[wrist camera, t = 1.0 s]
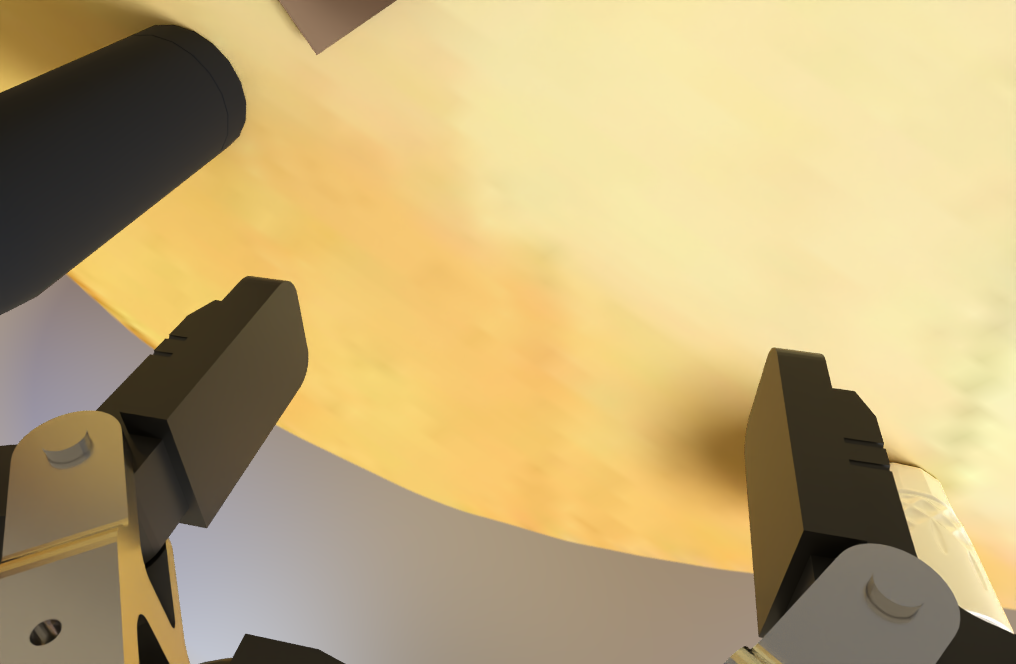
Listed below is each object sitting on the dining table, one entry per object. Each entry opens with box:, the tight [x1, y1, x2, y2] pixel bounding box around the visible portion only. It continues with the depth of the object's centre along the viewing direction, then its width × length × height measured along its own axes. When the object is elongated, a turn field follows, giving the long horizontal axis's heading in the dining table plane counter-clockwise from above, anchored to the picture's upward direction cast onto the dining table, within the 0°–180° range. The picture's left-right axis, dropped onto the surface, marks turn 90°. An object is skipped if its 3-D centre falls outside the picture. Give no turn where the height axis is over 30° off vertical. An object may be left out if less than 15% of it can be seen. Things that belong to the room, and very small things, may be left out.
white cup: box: [890, 463, 1014, 633], centre depth 40 cm, size 8×8×10 cm
